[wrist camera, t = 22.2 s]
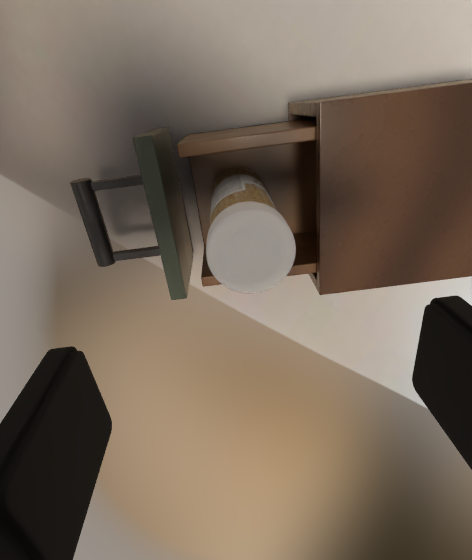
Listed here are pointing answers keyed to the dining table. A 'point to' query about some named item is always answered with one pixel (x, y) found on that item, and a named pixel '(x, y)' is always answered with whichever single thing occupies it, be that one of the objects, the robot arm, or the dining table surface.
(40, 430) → the robot arm
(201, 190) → the drawer
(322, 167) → the cabinet
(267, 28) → the dining table surface
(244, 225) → the sprinkles bottle
